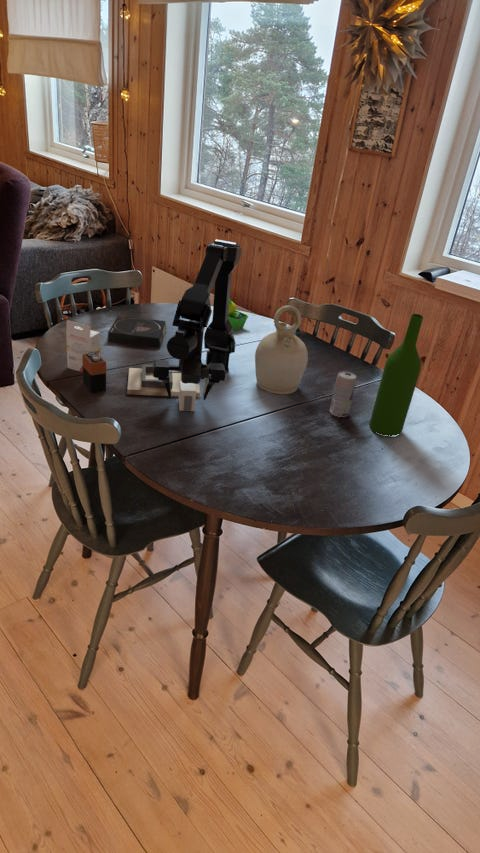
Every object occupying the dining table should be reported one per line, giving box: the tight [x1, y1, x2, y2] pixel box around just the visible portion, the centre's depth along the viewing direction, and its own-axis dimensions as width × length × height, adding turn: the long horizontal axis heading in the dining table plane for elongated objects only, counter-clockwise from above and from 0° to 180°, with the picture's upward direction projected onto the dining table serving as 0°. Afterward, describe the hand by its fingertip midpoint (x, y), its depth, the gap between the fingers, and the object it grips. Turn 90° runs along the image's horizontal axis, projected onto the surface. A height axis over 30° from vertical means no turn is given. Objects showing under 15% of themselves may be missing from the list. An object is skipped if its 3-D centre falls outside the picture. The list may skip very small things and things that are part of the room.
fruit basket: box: [228, 298, 249, 331], centre depth 208 cm, size 11×9×11 cm
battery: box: [82, 351, 107, 395], centre depth 153 cm, size 4×7×10 cm, turn 34°
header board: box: [126, 364, 201, 398], centre depth 161 cm, size 20×14×4 cm
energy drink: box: [329, 370, 358, 418], centre depth 156 cm, size 5×5×12 cm
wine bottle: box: [368, 313, 424, 436], centre depth 146 cm, size 9×9×32 cm
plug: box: [178, 381, 197, 412], centre depth 151 cm, size 4×7×6 cm, turn 7°
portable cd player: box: [107, 315, 168, 349], centre depth 191 cm, size 16×17×4 cm
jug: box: [254, 304, 309, 396], centre depth 164 cm, size 15×16×25 cm
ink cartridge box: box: [65, 319, 101, 373], centre depth 161 cm, size 9×5×15 cm, turn 68°
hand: (187, 399), depth 152 cm, fingers open, 9 cm apart
